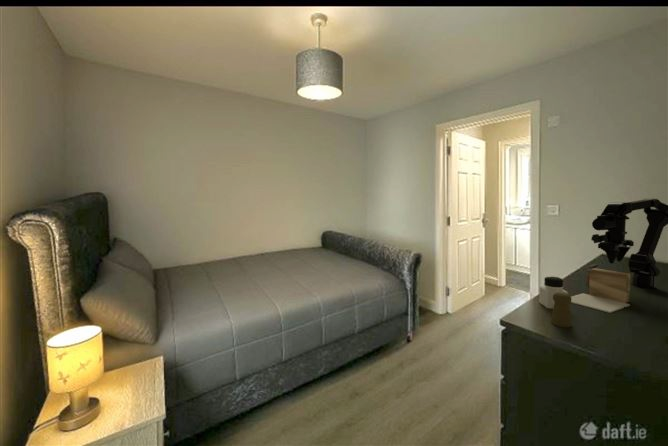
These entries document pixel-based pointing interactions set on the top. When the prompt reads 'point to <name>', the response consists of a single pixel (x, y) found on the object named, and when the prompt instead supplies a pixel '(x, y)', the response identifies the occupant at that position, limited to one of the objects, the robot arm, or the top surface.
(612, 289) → the letter block
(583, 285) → the top surface
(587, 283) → the lighter
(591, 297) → the felt mat
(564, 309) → the wooden pepper mill
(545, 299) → the medicine bottle
